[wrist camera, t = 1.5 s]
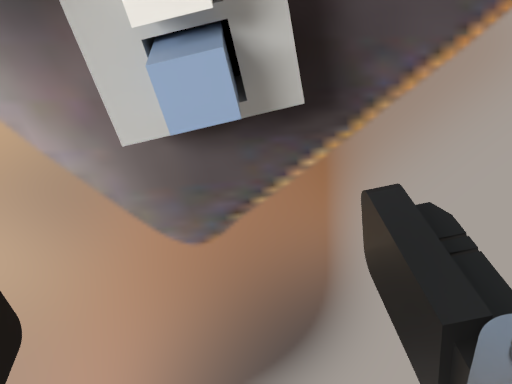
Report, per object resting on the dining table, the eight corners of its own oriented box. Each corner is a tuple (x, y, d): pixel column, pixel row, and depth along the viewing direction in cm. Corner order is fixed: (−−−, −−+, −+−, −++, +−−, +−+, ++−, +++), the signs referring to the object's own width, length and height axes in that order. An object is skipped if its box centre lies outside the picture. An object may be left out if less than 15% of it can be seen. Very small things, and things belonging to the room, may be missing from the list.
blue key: (220, 21, 23) (223, 46, 19) (236, 84, 25) (241, 118, 21) (155, 37, 23) (145, 65, 19) (175, 99, 25) (170, 135, 21)
